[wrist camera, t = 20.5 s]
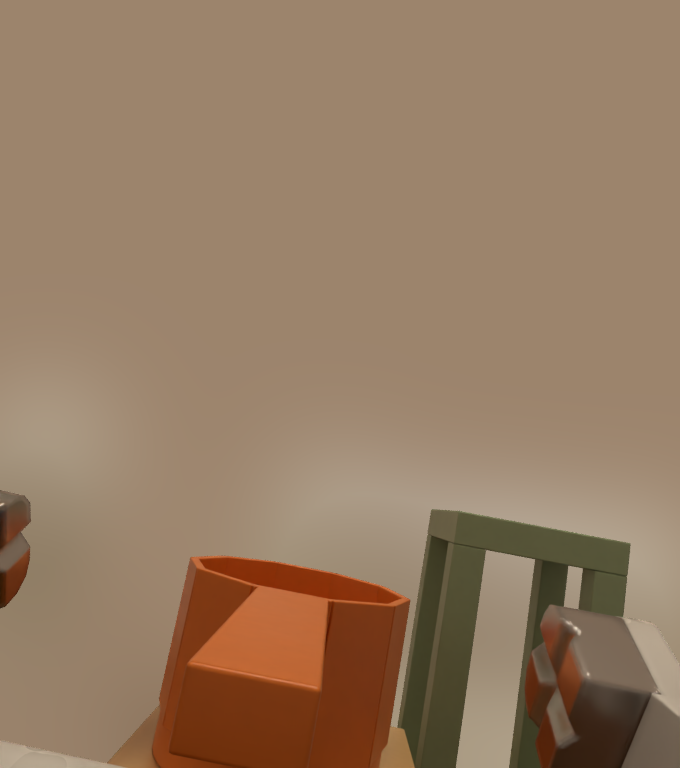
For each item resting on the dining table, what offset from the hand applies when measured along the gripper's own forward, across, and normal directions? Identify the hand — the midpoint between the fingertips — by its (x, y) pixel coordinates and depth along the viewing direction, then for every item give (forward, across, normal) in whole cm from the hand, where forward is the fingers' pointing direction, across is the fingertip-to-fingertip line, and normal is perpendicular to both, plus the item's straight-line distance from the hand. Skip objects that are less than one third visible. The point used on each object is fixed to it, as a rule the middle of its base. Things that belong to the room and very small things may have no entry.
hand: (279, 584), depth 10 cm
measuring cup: (+4, 0, -11) cm, 12 cm away
